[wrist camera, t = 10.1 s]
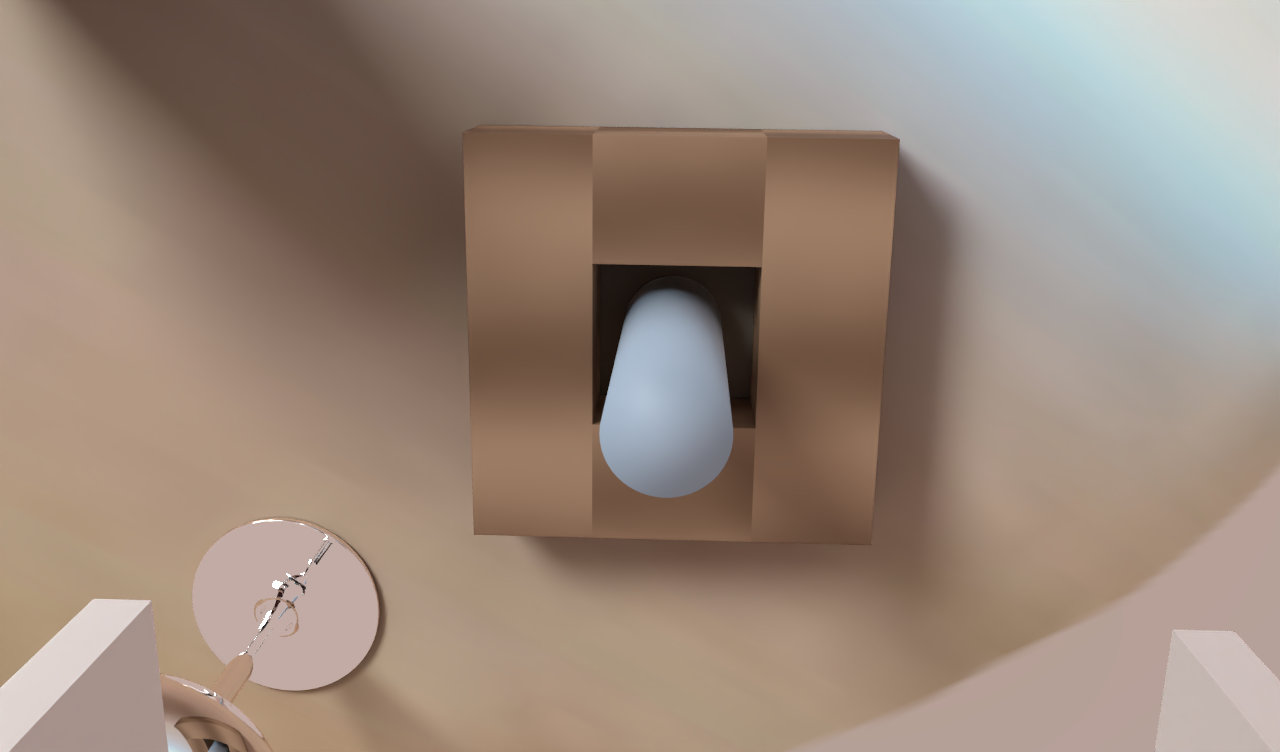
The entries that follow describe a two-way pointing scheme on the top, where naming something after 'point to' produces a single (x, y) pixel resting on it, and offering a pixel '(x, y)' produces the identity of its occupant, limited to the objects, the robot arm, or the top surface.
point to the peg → (668, 392)
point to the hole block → (685, 236)
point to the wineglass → (270, 626)
